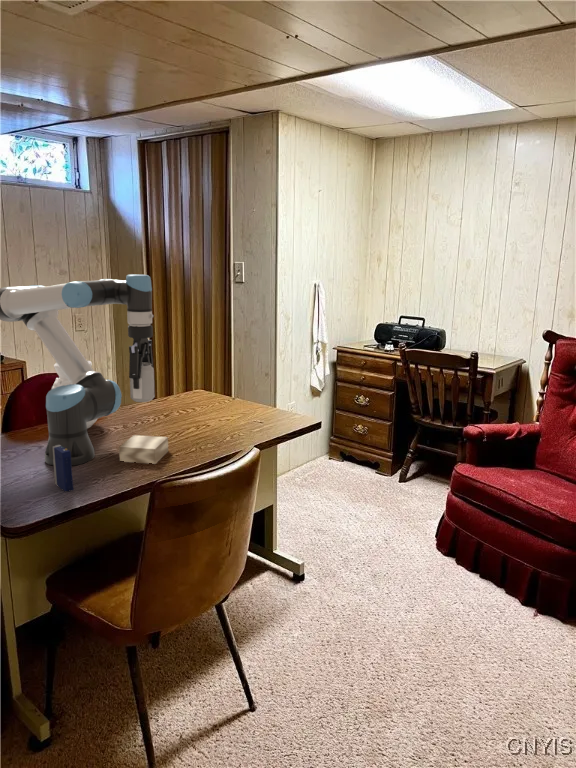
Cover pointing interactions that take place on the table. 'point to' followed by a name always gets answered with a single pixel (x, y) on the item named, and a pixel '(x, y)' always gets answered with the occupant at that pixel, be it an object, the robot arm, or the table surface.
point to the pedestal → (143, 449)
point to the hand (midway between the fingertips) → (142, 394)
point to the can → (145, 383)
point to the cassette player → (62, 468)
